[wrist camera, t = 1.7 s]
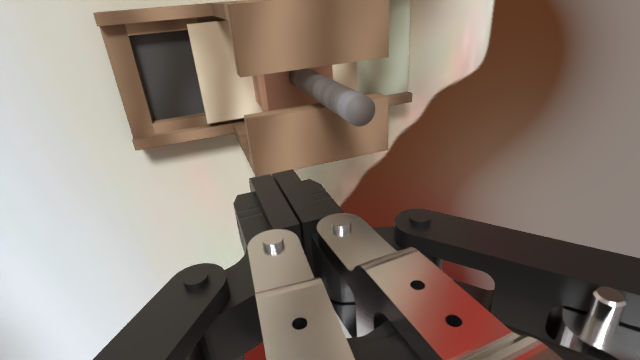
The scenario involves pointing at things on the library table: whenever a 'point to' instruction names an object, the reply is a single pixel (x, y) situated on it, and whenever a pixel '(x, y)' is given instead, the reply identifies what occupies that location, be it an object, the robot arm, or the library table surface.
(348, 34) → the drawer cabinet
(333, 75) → the cube with grey rod
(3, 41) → the library table surface
